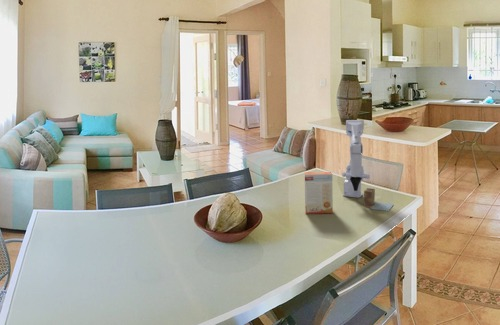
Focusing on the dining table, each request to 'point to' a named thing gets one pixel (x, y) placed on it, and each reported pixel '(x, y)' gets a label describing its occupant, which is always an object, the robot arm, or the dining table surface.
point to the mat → (382, 206)
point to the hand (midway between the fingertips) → (355, 190)
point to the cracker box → (318, 192)
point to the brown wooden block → (369, 197)
